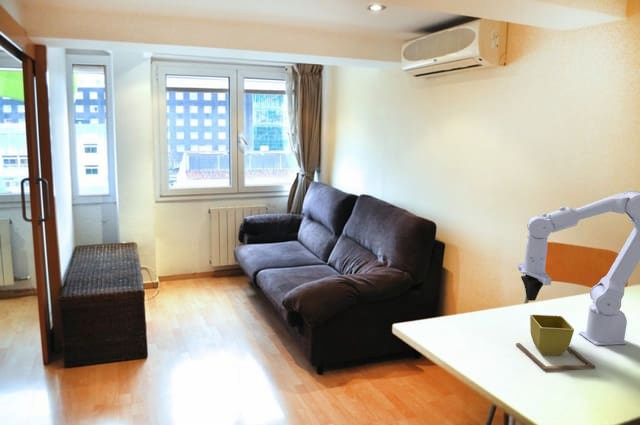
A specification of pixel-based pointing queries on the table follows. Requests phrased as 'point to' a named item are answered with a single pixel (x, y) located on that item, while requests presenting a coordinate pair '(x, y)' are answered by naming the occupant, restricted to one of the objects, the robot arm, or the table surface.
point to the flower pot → (550, 334)
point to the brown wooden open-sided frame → (557, 368)
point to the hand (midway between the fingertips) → (531, 299)
